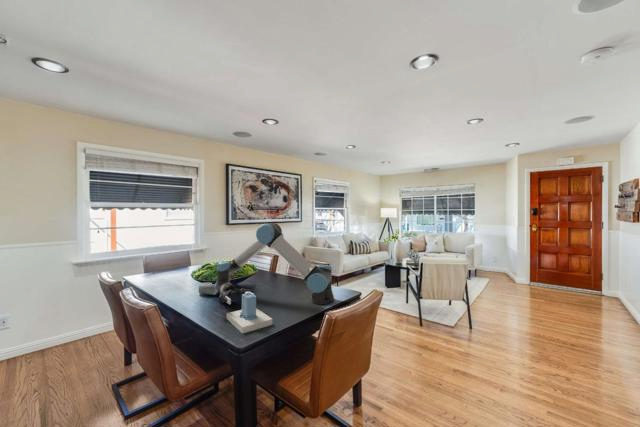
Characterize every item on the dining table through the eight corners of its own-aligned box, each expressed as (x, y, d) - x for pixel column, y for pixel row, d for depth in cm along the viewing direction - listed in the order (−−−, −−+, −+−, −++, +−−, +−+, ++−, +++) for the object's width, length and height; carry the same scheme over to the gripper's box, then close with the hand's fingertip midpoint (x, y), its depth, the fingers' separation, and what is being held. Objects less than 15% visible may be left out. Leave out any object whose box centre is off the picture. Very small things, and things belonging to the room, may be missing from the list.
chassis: (272, 324, 138) (272, 318, 138) (242, 333, 128) (242, 327, 128) (254, 311, 156) (254, 306, 155) (226, 318, 146) (226, 313, 146)
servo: (257, 323, 139) (257, 295, 139) (246, 326, 136) (246, 297, 135) (249, 317, 148) (249, 289, 148) (238, 319, 144) (238, 292, 144)
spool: (193, 291, 183) (200, 277, 187) (201, 293, 192) (208, 280, 195) (208, 298, 179) (215, 284, 182) (216, 300, 187) (223, 286, 191)
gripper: (248, 292, 173) (263, 301, 156) (207, 300, 158) (219, 311, 141) (248, 280, 173) (263, 288, 156) (207, 287, 157) (219, 297, 141)
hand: (242, 299), depth 148 cm, fingers open, 13 cm apart
